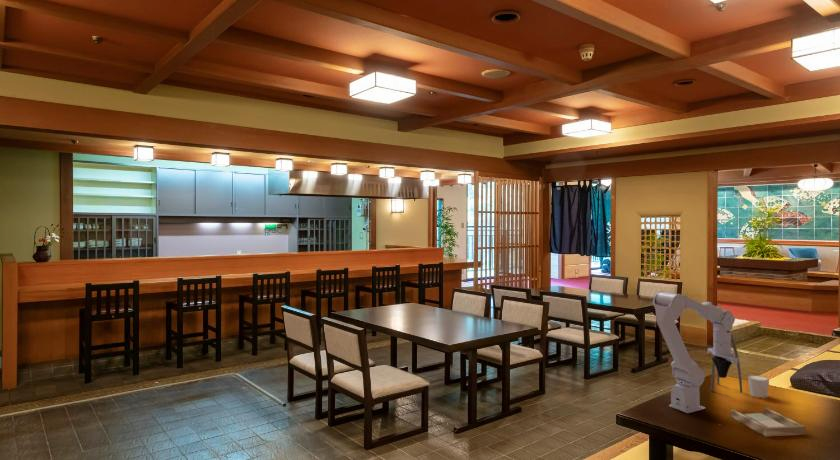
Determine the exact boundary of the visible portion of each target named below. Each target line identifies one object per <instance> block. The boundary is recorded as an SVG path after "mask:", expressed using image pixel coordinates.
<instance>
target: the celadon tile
mask: <svg viewBox="0 0 840 460" xmlns="http://www.w3.org/2000/svg"><path fill="white" fill-rule="evenodd" d="M744 415H745V416H747V417H749V418H751V419H752V420H754V421H756V422H757V421H765V420H774V419H772V418H770V417H768V416H766V415H764V413H761V412H756V413H755V412H752V413H744Z"/></svg>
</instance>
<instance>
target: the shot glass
mask: <svg viewBox="0 0 840 460" xmlns="http://www.w3.org/2000/svg"><path fill="white" fill-rule="evenodd" d="M747 380H748V388H749V395H750V396H751V397H753V396H755V397H754V398H756V397H767V396H768V394H769V385H770V379H769V378H768V377H766V376H762V375H748V376H747ZM767 398H768V397H767Z"/></svg>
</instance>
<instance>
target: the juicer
mask: <svg viewBox="0 0 840 460" xmlns="http://www.w3.org/2000/svg"><path fill="white" fill-rule="evenodd" d="M731 347H732V349H733V353H734V356H735V357H737V358H738V363H736V368H737V374H738V383H739V392H740V393H742V394H743V381H742V369H741V364H740V358H739V354H738V349H737V345H736V341H735V339H734V335H733V334H731ZM713 357H716V356H715V355H712V358H713ZM711 365H712V366H711V384H710V385H711V388H710V389H711V390H710V391H711V392H714V389H715V372H716V383H717V385H720V377H719V375H718V372H717V371H715V370H716V366H715V364H714V362H713V361H712V364H711Z"/></svg>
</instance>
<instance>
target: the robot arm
mask: <svg viewBox="0 0 840 460" xmlns="http://www.w3.org/2000/svg"><path fill="white" fill-rule="evenodd" d="M652 305H653V307H654V309H655V320H656V323H657V326H658V328H659V330H660V333H661V335H662V337H663V340H664V341H665V344H666V346H667V349H668V350H669V353H670V354H671V356H672V359H673V361H671V363H670V366H671V373H672V376H673V377H674V379H675V382H676V384H675V385H674V386H672V388H671V389H670V404H668V406H669V407H670V408H672V409H676V410H678V411H681V412H683V413H686V414H690V413H695V412H698V411H701V410H705V409H706V407H705V406H702V405H700V398H701V397H700V387H701V386H702V384H703V383H704V381H705V376H706V375H705V372H704V371H703V369H702V368H700V366H699V364H698V363H697V362H695V360H694V359H692V358H691V356H690V354H689V352H688V350H687V347H686V345H685V342H684V341H683V338H682V335H681V333H680V332H679V331H680V330H679V329H678V326H677V325H676V323H675V321H677V320H678V319H679V318H680V316H681V315H682V313H683V312H684V310H685V309H691V310H693V311H696V312H697V315H698V316H700V317H701V318H703V319H706V320H708V321H710V323H711V324H712V331H713V332H712V333H713V334H712V336H713V339H712V340H713V342H712V343H713V347H708V348H707V354H711V355H712V357H711V360H712V363H713V362H714V364H715V370H716V373H717V372H718V375H719V378H720V379H725V378H727V375H728V372H729V370H730V368H731V366H732V364H737V363H738V358H737V357H735V354H734V352H733V351H732V343H731V335H732V330H733V325H734V323H735V320H736V318H735V316H734V314H733V312H731V311H730V310H727V309H723V308H722V307H721V306H718V305H717V306H716V305H713V302H711V301H704V302H699V301H697V300H695V299H693V298H691V297H690V296H687V295H683V294H681V293H673V292H668V291H664V290H659V291H657V292H656V294H655V295H654V297H653V300H652ZM714 355H715V356H716V357H713V356H714Z"/></svg>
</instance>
